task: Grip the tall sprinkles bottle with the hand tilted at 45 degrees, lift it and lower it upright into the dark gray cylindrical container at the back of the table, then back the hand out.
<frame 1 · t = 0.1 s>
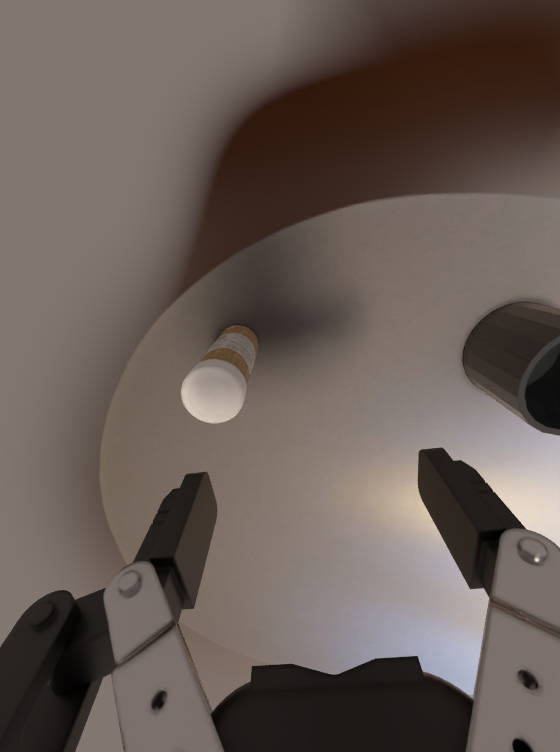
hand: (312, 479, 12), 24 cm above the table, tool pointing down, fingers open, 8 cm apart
dark gray cylindrical container: (511, 349, 34), on the table
sprinkles bottle: (239, 343, 35), on the table
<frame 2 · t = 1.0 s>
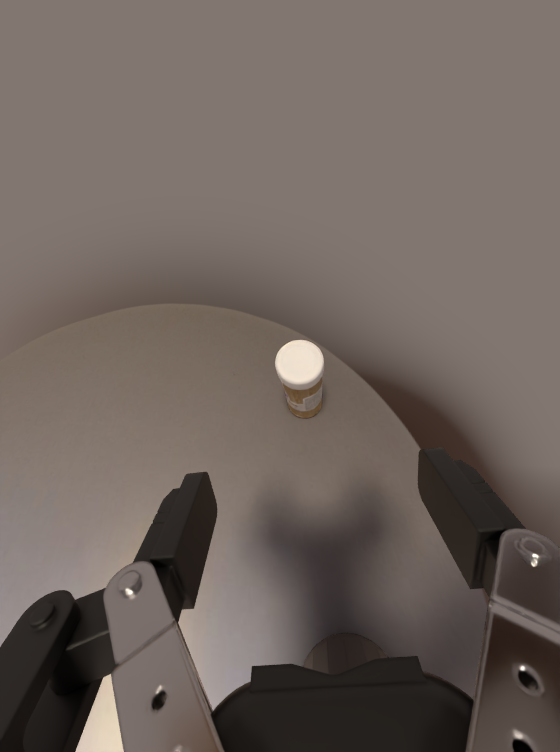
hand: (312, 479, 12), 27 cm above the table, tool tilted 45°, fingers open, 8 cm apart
dark gray cylindrical container: (351, 698, 30), on the table
sprinkles bottle: (305, 402, 41), on the table
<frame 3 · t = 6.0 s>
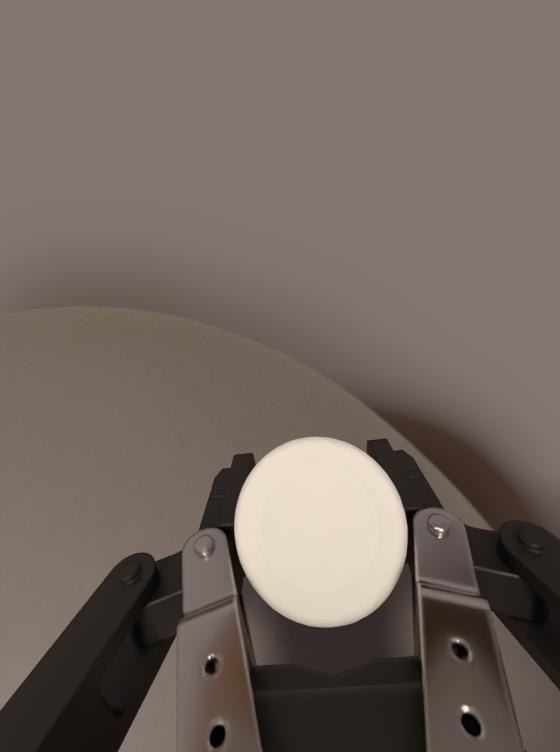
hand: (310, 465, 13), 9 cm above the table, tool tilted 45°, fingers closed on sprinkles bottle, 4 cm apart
sprinkles bottle: (317, 511, 20), on the table, touching gripper
when the fingers open (10 cm above the table, at t = 17.6 s): sprinkles bottle stays where it is, resting on dark gray cylindrical container.
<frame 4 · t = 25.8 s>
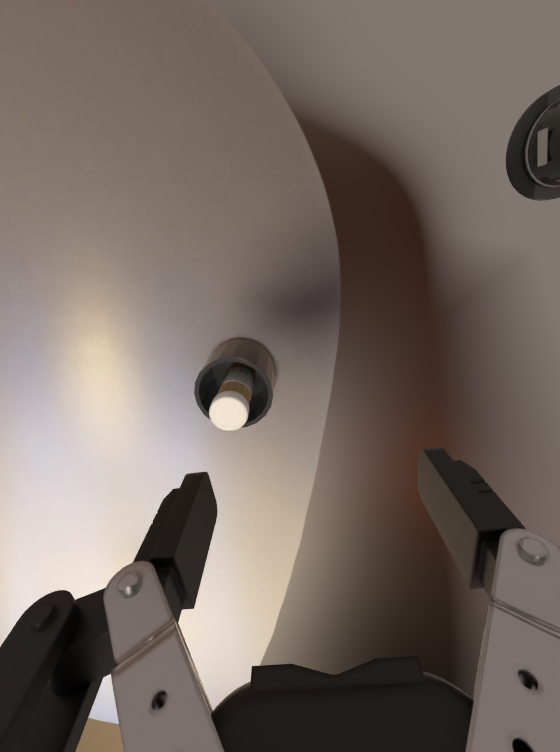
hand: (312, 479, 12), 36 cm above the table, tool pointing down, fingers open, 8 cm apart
dark gray cylindrical container: (242, 369, 49), on the table
sprinkles bottle: (242, 371, 48), point 1 cm above the table, touching dark gray cylindrical container
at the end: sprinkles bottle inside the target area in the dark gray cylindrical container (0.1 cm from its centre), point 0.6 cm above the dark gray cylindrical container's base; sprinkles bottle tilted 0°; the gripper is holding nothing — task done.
